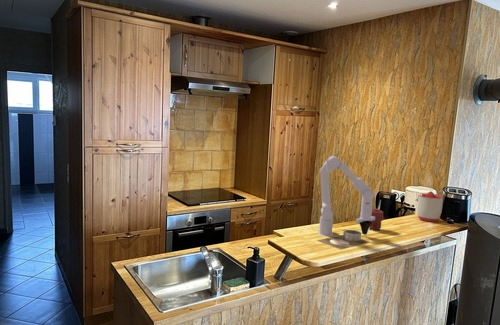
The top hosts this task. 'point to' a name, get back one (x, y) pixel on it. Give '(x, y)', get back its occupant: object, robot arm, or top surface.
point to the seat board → (341, 242)
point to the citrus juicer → (429, 207)
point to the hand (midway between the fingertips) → (364, 234)
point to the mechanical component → (376, 219)
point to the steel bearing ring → (352, 235)
